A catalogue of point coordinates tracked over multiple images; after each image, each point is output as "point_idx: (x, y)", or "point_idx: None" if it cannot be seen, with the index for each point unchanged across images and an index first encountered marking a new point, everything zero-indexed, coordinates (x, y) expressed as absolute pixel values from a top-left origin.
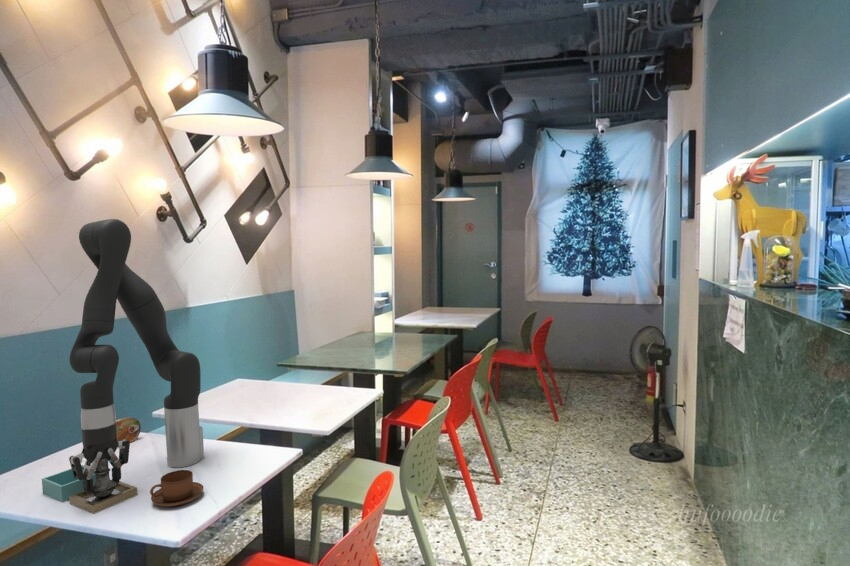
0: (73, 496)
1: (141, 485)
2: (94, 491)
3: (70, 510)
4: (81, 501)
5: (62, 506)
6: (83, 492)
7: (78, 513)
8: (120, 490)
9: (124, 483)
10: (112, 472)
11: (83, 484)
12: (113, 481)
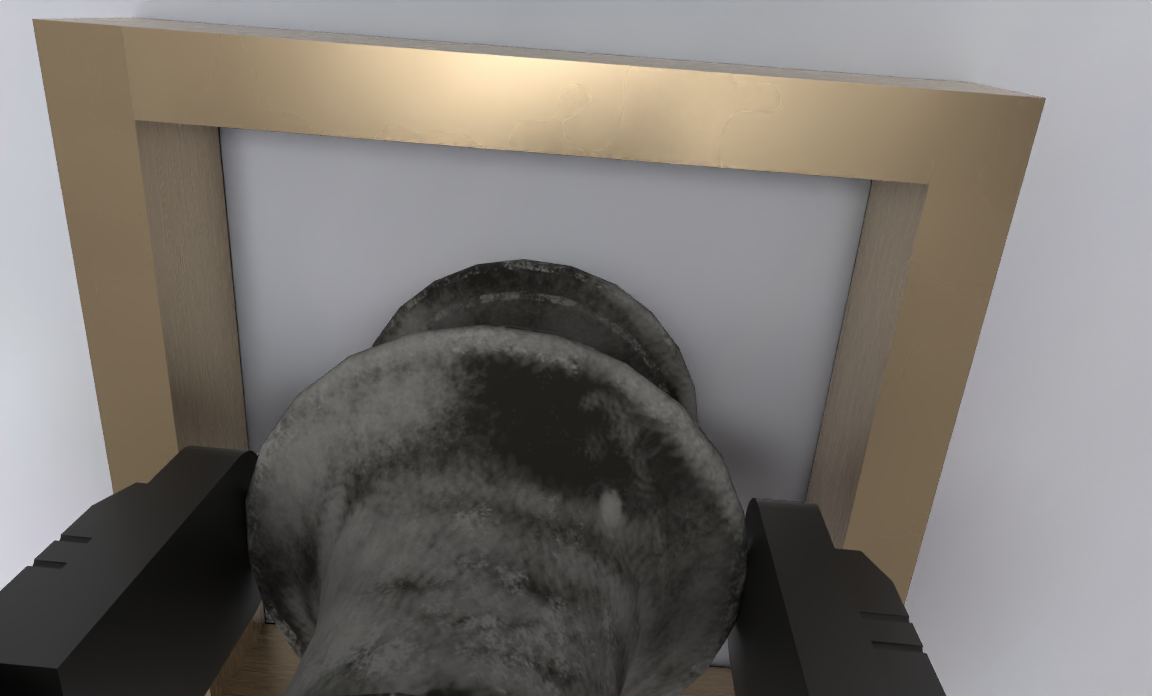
0: (85, 151)
1: (1109, 524)
2: (277, 606)
3: (59, 294)
4: (115, 478)
5: (15, 6)
6: (304, 132)
7: (103, 487)
8: (826, 425)
9: (904, 536)
10: (790, 673)
11: (9, 588)
12: (702, 611)
